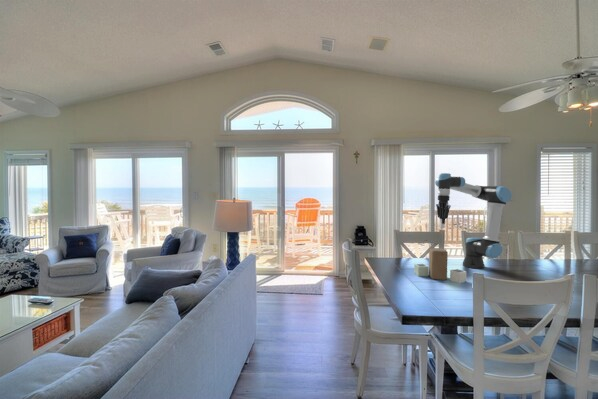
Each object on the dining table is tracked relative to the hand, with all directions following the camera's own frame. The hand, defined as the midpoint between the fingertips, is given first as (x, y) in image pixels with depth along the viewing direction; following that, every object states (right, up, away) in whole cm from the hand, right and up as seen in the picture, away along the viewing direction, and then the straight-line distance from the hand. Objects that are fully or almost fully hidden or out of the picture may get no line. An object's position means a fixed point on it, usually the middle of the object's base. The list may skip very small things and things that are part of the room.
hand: (442, 228), depth 220 cm
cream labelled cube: (+6, -35, -11) cm, 37 cm away
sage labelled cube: (-14, -34, +3) cm, 37 cm away
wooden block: (-5, -35, -4) cm, 35 cm away
